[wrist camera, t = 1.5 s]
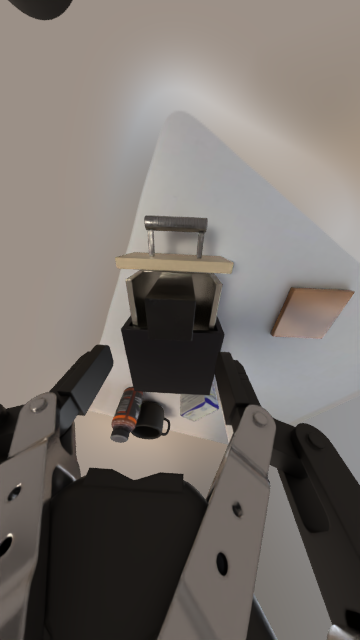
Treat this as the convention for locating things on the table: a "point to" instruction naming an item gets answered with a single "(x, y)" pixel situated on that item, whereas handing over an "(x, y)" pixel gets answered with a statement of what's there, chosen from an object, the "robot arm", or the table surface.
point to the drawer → (175, 271)
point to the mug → (150, 421)
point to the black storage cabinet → (172, 360)
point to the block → (171, 308)
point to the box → (198, 405)
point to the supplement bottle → (126, 415)
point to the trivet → (310, 312)
